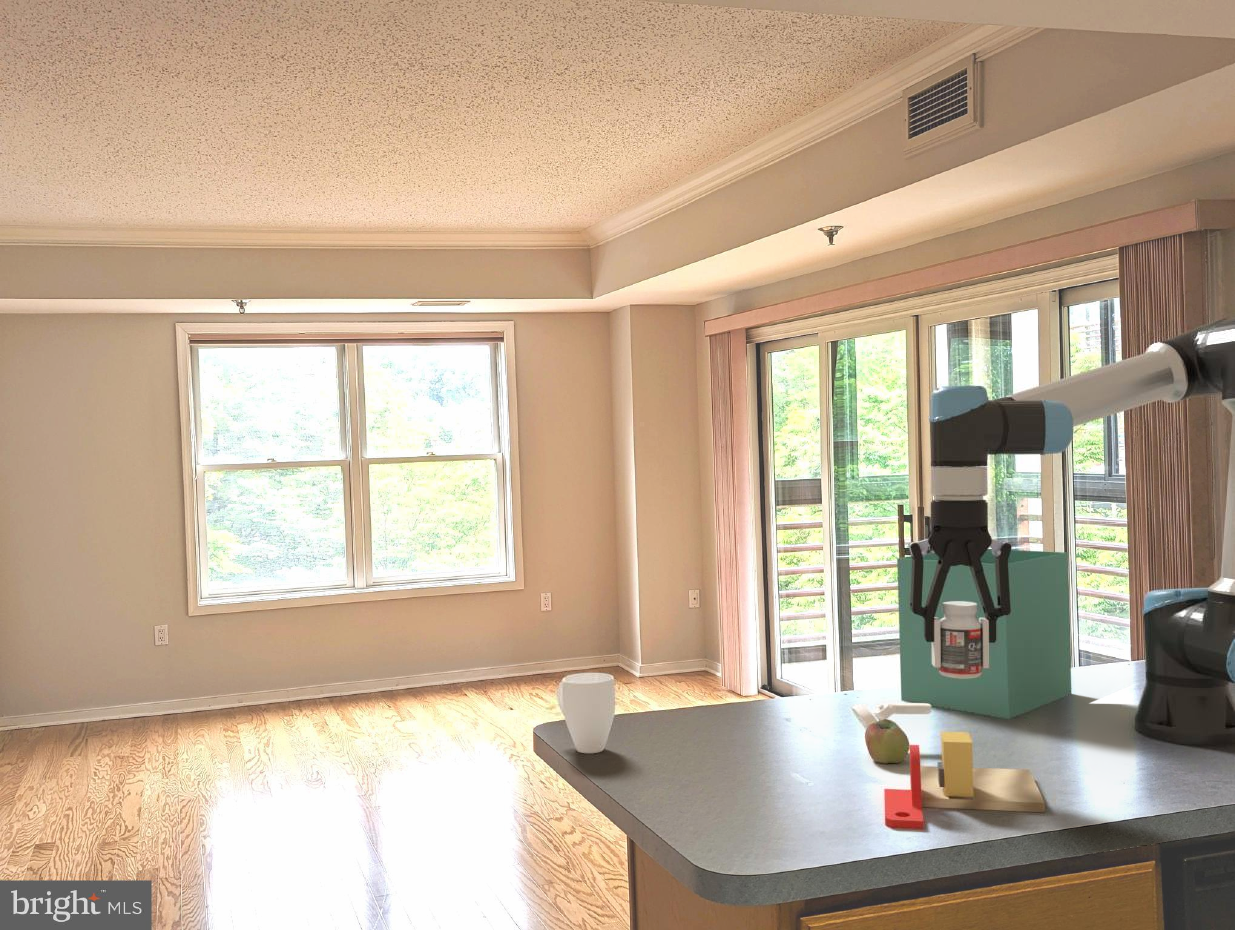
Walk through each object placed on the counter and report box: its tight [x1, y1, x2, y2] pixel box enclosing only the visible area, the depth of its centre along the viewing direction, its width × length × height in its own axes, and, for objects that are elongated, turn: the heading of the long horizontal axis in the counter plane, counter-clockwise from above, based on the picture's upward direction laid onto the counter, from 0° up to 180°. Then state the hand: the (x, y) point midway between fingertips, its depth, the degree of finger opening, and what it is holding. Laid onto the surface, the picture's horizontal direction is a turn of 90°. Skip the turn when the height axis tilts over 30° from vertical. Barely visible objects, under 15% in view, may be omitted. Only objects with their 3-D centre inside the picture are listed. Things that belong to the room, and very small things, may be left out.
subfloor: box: [920, 765, 1046, 813], centre depth 143 cm, size 15×14×1 cm
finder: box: [937, 731, 974, 797], centre depth 140 cm, size 7×5×4 cm
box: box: [896, 548, 1072, 719], centre depth 195 cm, size 23×21×26 cm
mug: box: [556, 672, 616, 754], centre depth 171 cm, size 12×8×11 cm
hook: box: [850, 702, 932, 730], centre depth 165 cm, size 8×12×7 cm, turn 78°
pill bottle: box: [939, 601, 982, 679], centre depth 148 cm, size 6×6×10 cm
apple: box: [864, 718, 910, 765], centre depth 159 cm, size 6×8×6 cm
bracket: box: [883, 744, 925, 831], centre depth 136 cm, size 12×4×8 cm, turn 166°
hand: (960, 665), depth 148 cm, fingers closed on pill bottle, 6 cm apart
